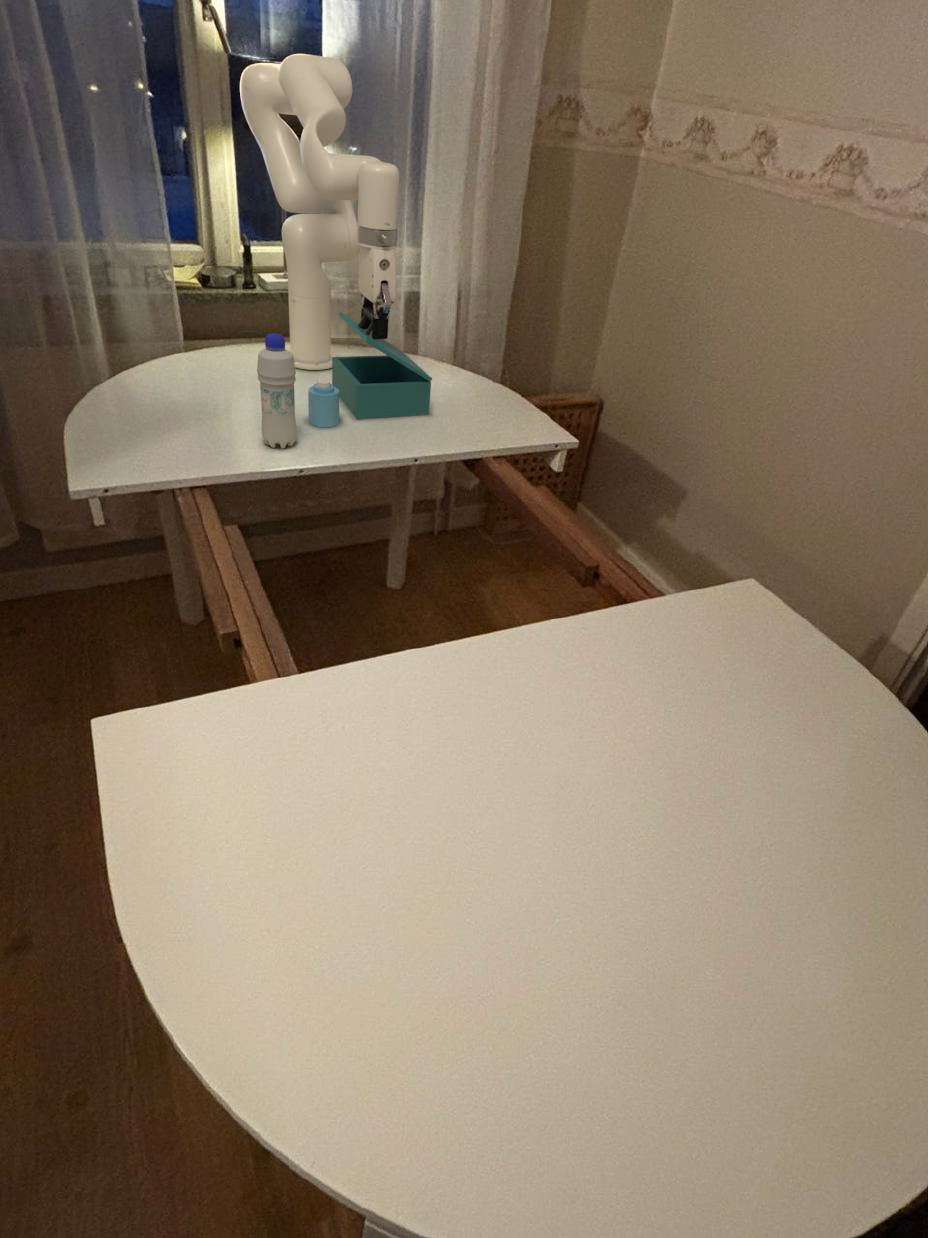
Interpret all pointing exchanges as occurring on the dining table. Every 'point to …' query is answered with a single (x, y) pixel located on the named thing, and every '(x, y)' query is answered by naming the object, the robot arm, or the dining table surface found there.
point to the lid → (382, 342)
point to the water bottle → (323, 404)
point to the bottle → (277, 392)
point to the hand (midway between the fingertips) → (374, 332)
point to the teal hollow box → (380, 387)
